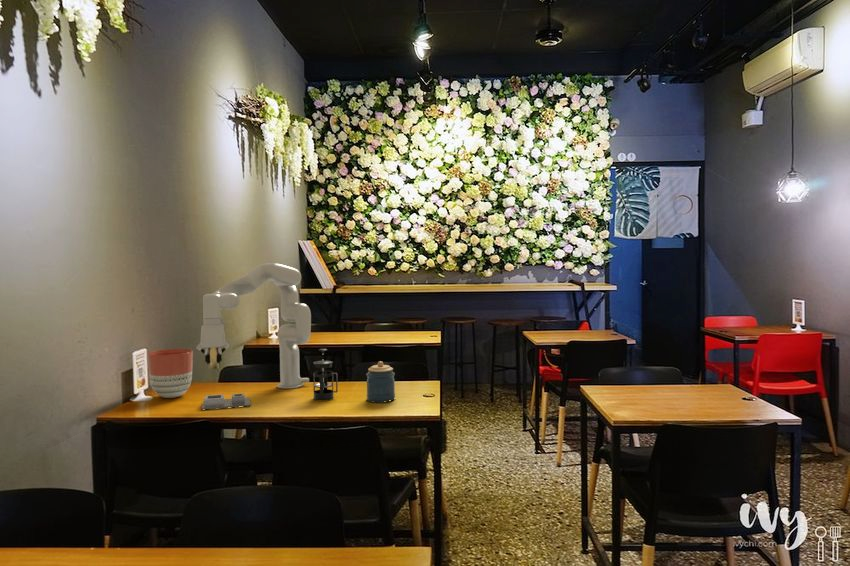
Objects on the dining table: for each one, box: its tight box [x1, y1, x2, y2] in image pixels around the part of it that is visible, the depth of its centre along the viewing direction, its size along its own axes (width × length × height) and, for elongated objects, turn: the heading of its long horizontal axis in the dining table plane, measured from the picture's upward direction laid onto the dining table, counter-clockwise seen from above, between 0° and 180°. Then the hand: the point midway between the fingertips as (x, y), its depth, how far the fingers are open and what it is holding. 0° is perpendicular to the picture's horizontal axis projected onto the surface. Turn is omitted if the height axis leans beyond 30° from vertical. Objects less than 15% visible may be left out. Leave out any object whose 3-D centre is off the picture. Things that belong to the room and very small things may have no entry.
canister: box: [365, 360, 396, 403], centre depth 264 cm, size 13×13×18 cm
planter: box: [147, 348, 194, 399], centre depth 273 cm, size 20×20×21 cm
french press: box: [312, 348, 339, 401], centre depth 267 cm, size 12×9×23 cm
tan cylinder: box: [208, 347, 220, 370], centre depth 255 cm, size 4×4×10 cm
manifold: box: [201, 393, 251, 411], centre depth 257 cm, size 20×14×4 cm
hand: (213, 362), depth 255 cm, fingers closed on tan cylinder, 4 cm apart
